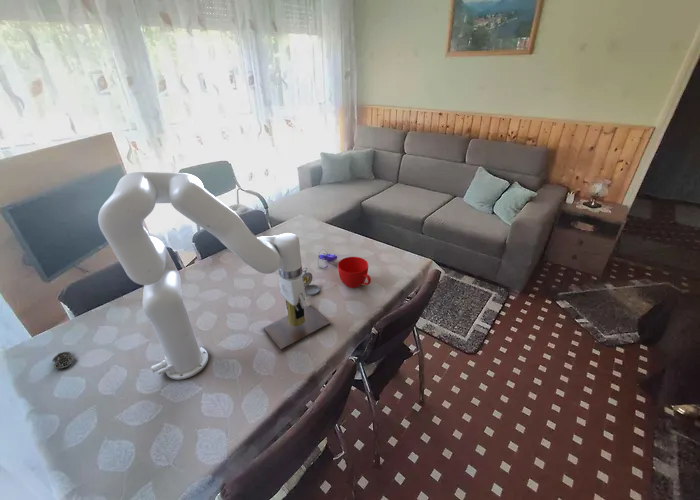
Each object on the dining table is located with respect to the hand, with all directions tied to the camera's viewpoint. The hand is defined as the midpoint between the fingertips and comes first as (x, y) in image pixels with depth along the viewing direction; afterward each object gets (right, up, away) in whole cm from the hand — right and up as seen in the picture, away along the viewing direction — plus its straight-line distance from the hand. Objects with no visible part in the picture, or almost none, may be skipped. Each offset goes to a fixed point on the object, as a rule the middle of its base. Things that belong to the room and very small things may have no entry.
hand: (295, 312), depth 114 cm
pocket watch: (+2, +5, +23) cm, 24 cm away
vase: (0, -4, +2) cm, 4 cm away
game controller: (+9, +15, +40) cm, 44 cm away
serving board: (0, -6, +4) cm, 7 cm away
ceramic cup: (+22, +6, +26) cm, 34 cm away
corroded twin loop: (-74, -14, -10) cm, 76 cm away
